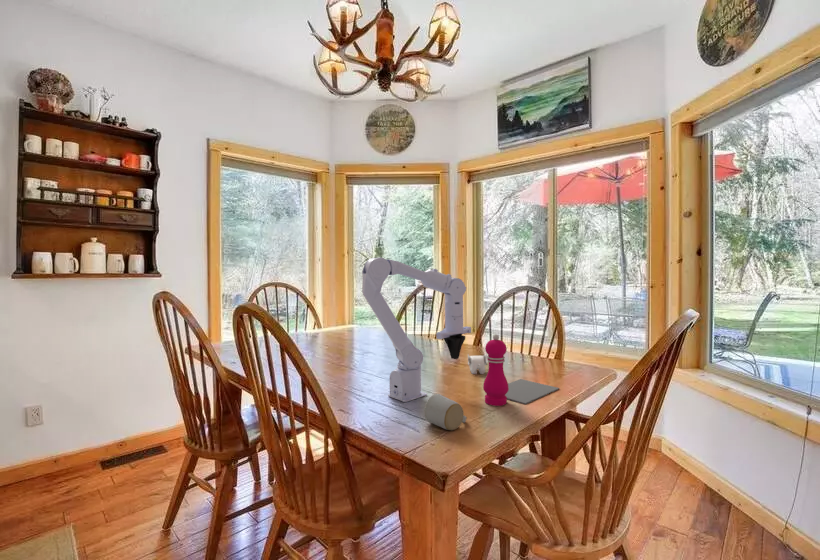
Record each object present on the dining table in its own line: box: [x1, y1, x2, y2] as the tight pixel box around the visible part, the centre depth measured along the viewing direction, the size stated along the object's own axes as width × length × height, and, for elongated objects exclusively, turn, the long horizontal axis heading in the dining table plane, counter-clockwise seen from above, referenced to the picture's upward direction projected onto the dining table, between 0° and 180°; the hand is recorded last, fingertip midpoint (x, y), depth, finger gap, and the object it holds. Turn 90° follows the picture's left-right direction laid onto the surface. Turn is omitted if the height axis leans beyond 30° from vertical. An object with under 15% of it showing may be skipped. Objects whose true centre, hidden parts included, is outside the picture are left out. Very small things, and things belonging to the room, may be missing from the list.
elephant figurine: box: [467, 353, 489, 375], centre depth 152 cm, size 8×10×7 cm
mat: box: [505, 378, 560, 405], centre depth 129 cm, size 20×14×1 cm
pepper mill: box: [482, 333, 509, 407], centre depth 119 cm, size 7×7×20 cm
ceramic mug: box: [423, 393, 468, 431], centre depth 103 cm, size 10×8×7 cm
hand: (454, 358), depth 130 cm, fingers closed
